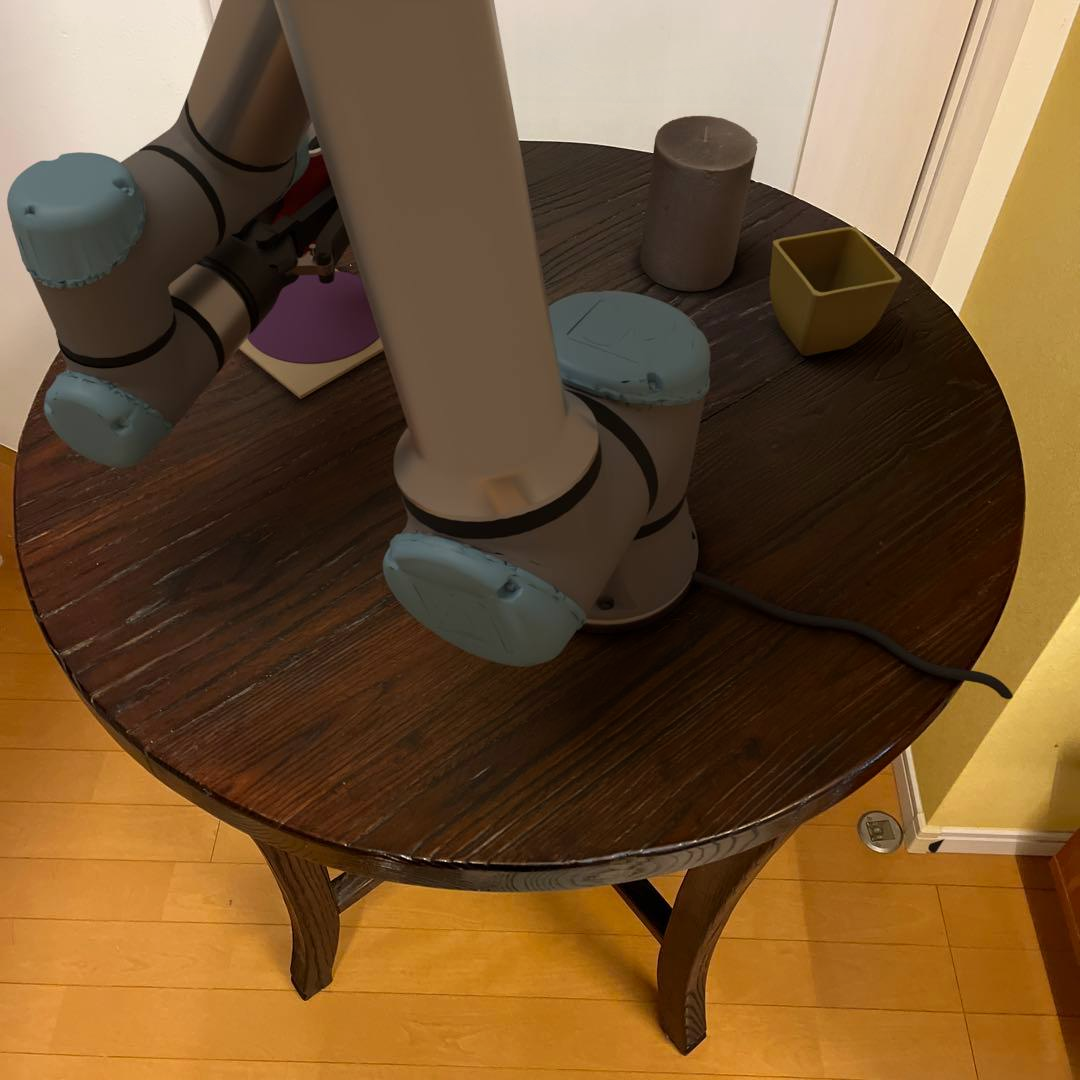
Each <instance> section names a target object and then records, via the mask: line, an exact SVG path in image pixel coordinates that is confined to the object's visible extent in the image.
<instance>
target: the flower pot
mask: <svg viewBox="0 0 1080 1080" xmlns="http://www.w3.org/2000/svg"><path fill="white" fill-rule="evenodd" d="M770 264H771V265H770V273H769V295H770V296H769V297H770V302H771V306H772V309H773V312H774V315H775V318H776V321H777V323H778V325H779V327H780V328H781V330H782V331H783V333H784V334H785V335H786V336H787V337H788V339H789V340H790V342H791V343H792V344H793V346H794V347H795V348H796V350H797V351H798V352H799V354H800V355H801V356H804V357H809V356H813V355H818V354H823V353H827V352H834V351H838V350H844V349H847V348H850V347H851V346H853V345H854V344H856V343H857V342H859V341H860V340H862V339H863V338H864V337H866V336H867V335H868V334H869V333H870V332H871V331H872V330H873V329H874V328H875V327H876V326H877V324H878V323H879V321H880V320H881V318H882V317H883V315H884V314H885V311H886V310H887V307H888V306H889V304H890V303H891V300H892V298H893V296H894V295H895V292H896V291H897V289H898V287H899V286H900V283H901V282H902V277H901V275H900V274H899V273H898V272H897V271H896V270H895V269H894V267H892V265H891V264H890V263H889V262H888V261H887V260H886V259H885V257H884V256H883V255H882V254H881V253H880V252H879V251H878V250H877V249H876V247H875V246H874V245H873V244H872V243H871V242H870V241H869V240H868V238H867V237H866V236H865V235H864V234H863V233H862V232H861V231H860V229H858V228H857V227H856V226H846V227H838V228H837V227H836V228H833V229H832V228H831V229H827V230H822V231H815V232H810V233H803V234H799V235H794V236H793V235H792V236H786V237H781V238H778V239H774V240H773V241H772V249H771V261H770Z"/></svg>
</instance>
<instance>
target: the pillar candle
mask: <svg viewBox="0 0 1080 1080" xmlns="http://www.w3.org/2000/svg"><path fill="white" fill-rule="evenodd" d="M758 143H759V142H758V139H757V138H756V136H754V135H752V134H751V132H749V131H748V130H747V129H746V128H745V127H743V126H742V125H740V124H738V123H736V122H733V121H731V120H728V119H726V118H723V117H716V116H711V115H689V116H682V117H678V118H675V119H672V120H670V121H667V122H666V123H664V124H663V125H662V126H661V127H659V129H658V130H657V132H656V135H655V137H654V145H653V153H652V158H651V159H652V161H651V169H650V170H651V171H650V178H649V186H648V193H647V200H646V208H645V215H644V223H643V230H642V237H641V238H642V239H641V246H640V256H639V261H640V262H639V263H640V267H641V269H642V270H643V272H644V273H645V274H646V275H647V277H648V278H649V279H651V281H653V282H654V283H656V284H658V285H661V286H663V287H665V288H668V289H671V290H675V291H681V292H704V291H709V290H711V289H715V288H718V287H720V286H721V285H722V284H723V283H724V282H725V281H726V280H727V279H728V278H729V277H730V276H731V274H732V272H733V270H734V264H735V261H736V256H737V250H738V247H739V240H740V236H741V231H742V227H743V226H742V225H743V221H744V215H745V210H746V206H747V202H748V201H747V200H748V196H749V195H748V194H749V191H750V185H751V180H752V174H753V171H754V165H755V158H756V155H757V151H758V145H757V144H758Z"/></svg>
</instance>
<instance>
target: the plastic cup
mask: <svg viewBox="0 0 1080 1080" xmlns="http://www.w3.org/2000/svg"><path fill="white" fill-rule="evenodd" d="M307 133H308V137H309V142H310V141H311V140H312V139H313V138H314V137H315V136H316V133H315V130H314V126H313V123H311V125H310V127H309V129H308V131H307ZM309 153H310V160H309V164H308V167H307V169H306V171H305V172H304V174H303V175H302V176H301V178H300V179H298V180H297V181H296V182H295V183H294V184H293V185H292V186H291V187H290V189H289V190H288V191H287V193H286V194H285V195H284V196H283V197H282V199H283V203H284V206H283V208H282V209H281V211H280V213H279V214H278V216H277V218H276V219H275V221H274V223H275V222H276V221H278V220H279V219H280V218H281V217H283V216H284V215H286V216H289V217H291V216H292V215H293V214H294V213H296V212H297V211H298V210H299V209H301V208H302V207H303V206H304V205H306V204H307V203H308V202H309V201H311V200H312V199H313V198H314V197H316V196H317V195H318V194H320V193H321V192H322V191H323V190H325V189H326V188H327V187H328V186H330V185H331V180H330V177H329V174H328V171H327V168H326V164H325V161H324V158H323V155H322V152H321V149H320V148H318V149H315V150H311V151H309ZM274 223H273V224H274ZM273 224H272V225H273ZM316 240H317V239H316ZM316 240H314V241H313V242H312V243H311V244H315V245H316ZM311 244H310V245H311ZM310 245H308V246H307V247H306V248H305V252H304V255H306V254H307V252H308V251H310V250H309V246H310Z"/></svg>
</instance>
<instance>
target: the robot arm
mask: <svg viewBox="0 0 1080 1080" xmlns="http://www.w3.org/2000/svg"><path fill="white" fill-rule="evenodd" d="M499 26H500V25H499V22H498V15H497V10H496V5H495V0H221V3H220V5H219V8H218V11H217V14H216V16H215V18H214V22H213V24H212V27H211V30H210V33H209V35H208V38H207V40H206V43H205V46H204V48H203V51H202V52H203V53H202V55H201V57H200V60H199V63H198V65H197V68H196V70H195V73H194V76H193V79H192V82H191V84H190V88H189V90H188V93H187V95H186V98H185V101H184V103H183V106H182V108H181V110H180V112H179V115H178V118H177V120H176V121H175V122H174V124H173V125H172V126H171V127H170V128H169V129H167V130H166V131H164V132H163V133H162V134H160V135H159V136H158V137H156V138H154V139H152V140H151V141H150V142H149V143H147V144H145V145H144V146H143V147H142V148H139V150H138V151H136V152H133V153H132V154H131V155H129V156H128V157H126V158H125V159H123V160H122V161H119V160H117V159H115V158H113V157H110V156H108V155H105V154H101V153H97V152H84V151H83V152H82V151H81V152H80V151H79V152H78V151H77V152H76V151H75V152H68V153H62V154H60V155H59V156H58V157H57V158H55V159H51V160H39V161H37V162H35V163H33V164H31V165H30V166H28V167H27V168H26V169H24V170H23V171H22V172H20V174H18V175H17V177H16V178H15V179H14V180H13V182H12V183H11V185H10V188H9V190H8V192H7V196H6V197H7V198H6V205H7V211H8V215H9V219H10V222H11V228H12V231H13V235H14V238H15V241H16V244H17V248H18V250H19V254H20V258H21V261H22V263H23V265H24V267H25V270H26V271H27V272H28V274H29V275H30V277H31V279H32V282H33V284H34V286H35V288H36V290H37V293H38V295H39V298H40V299H41V301H42V303H43V305H44V308H45V310H46V312H47V315H48V317H49V320H50V322H51V323H52V326H53V328H54V330H55V335H56V339H57V344H58V347H59V350H60V352H61V357H62V358H63V360H64V362H65V365H66V366H65V370H64V371H63V372H60V373H59V374H57V375H56V376H55V377H56V378H55V379H54V381H53V383H52V384H51V386H50V387H49V388H48V389H47V391H46V393H45V395H44V396H45V397H44V405H43V411H44V415H45V418H46V420H47V423H48V424H49V427H51V429H52V430H53V431H54V433H55V434H56V436H58V437H59V439H60V440H61V441H62V442H63V443H64V444H66V445H67V447H68V448H70V449H71V450H73V451H74V452H75V453H77V454H78V455H79V456H81V457H83V458H85V459H87V460H88V461H91V462H93V463H95V464H100V465H103V466H106V467H108V468H113V469H127V468H131V467H134V466H136V465H138V464H140V463H141V462H142V461H144V460H145V459H146V458H147V457H148V456H149V455H150V454H151V452H153V450H155V448H157V446H159V445H160V443H161V442H162V441H163V440H165V439H166V438H168V437H170V436H171V435H172V433H173V432H174V429H175V427H176V426H177V425H178V424H179V422H180V421H181V420H182V418H183V417H184V416H185V415H186V414H187V412H188V411H190V409H191V407H192V406H193V405H194V404H195V403H196V401H197V400H198V399H199V397H200V396H201V395H202V394H203V392H204V391H205V390H206V389H207V388H208V386H210V384H211V383H212V381H213V380H214V379H215V378H216V376H217V375H218V373H219V372H220V371H222V369H223V368H224V367H225V366H226V365H227V363H229V361H230V360H231V359H232V357H233V356H234V355H235V354H236V353H237V351H238V350H239V348H240V346H241V345H242V344H243V343H244V342H245V340H246V339H247V337H248V335H250V334H251V333H252V332H253V331H254V330H255V329H256V328H257V327H258V325H259V324H260V323H261V322H262V321H263V319H264V318H265V317H266V316H267V315H268V313H269V312H270V311H271V310H272V309H273V307H274V305H275V303H276V301H277V299H278V297H279V294H280V292H281V290H282V289H283V288H284V287H286V286H288V285H290V284H292V283H294V282H295V281H296V280H297V279H298V278H299V275H318V277H319V281H320V282H321V283H324V284H328V283H331V282H333V281H334V275H335V269H336V266H337V264H338V262H339V261H340V259H341V258H342V256H343V255H344V253H345V252H346V250H348V247H349V246H350V247H351V250H352V253H353V256H354V259H355V263H356V266H357V269H358V272H359V275H360V276H359V277H361V279H362V282H363V285H364V288H365V291H366V295H367V298H368V301H369V304H370V307H371V311H372V314H373V317H374V320H375V323H376V326H377V330H378V333H379V336H380V339H381V342H382V345H383V349H384V351H383V352H384V354H385V355H384V356H385V358H386V361H387V364H388V367H389V368H388V369H389V371H390V373H391V377H392V380H393V383H394V387H395V390H396V393H397V396H398V399H399V403H400V405H401V409H402V412H403V415H404V419H405V421H406V425H407V427H406V428H405V430H404V431H403V433H402V435H401V436H400V437H399V440H398V442H397V445H396V447H395V450H394V453H393V463H392V464H393V465H392V466H393V474H394V477H395V481H396V484H397V486H398V489H399V492H400V496H401V500H402V503H403V505H404V508H405V511H406V514H407V522H406V525H405V528H404V529H403V530H402V532H401V533H397V534H395V535H394V537H393V538H392V539H391V540H390V541H389V547H388V549H387V551H386V552H385V555H384V557H383V561H382V572H383V576H384V579H385V581H386V584H387V587H389V590H390V591H391V593H392V594H393V596H394V597H395V598H396V600H397V601H398V602H399V603H400V605H401V606H402V607H403V608H404V609H405V611H406V612H408V613H409V615H411V616H412V617H413V618H414V619H415V620H416V621H418V622H419V623H420V624H421V625H422V626H424V627H425V628H426V629H428V630H429V631H430V632H432V633H434V634H435V635H436V636H437V637H439V638H441V639H443V640H444V641H445V642H447V643H449V644H450V645H453V646H454V647H457V648H458V649H460V650H462V651H464V652H466V653H468V654H470V655H473V656H475V657H478V658H480V659H483V660H486V661H489V662H492V663H497V664H500V665H503V666H511V667H523V668H524V667H534V666H538V665H540V664H544V663H547V662H550V661H552V660H553V659H555V658H556V657H558V656H559V654H561V653H562V652H563V650H564V649H565V648H566V646H567V644H568V643H569V642H570V640H571V639H572V637H573V636H574V634H576V632H577V631H579V632H585V633H592V634H617V633H624V632H630V631H635V630H638V629H641V628H644V627H647V626H649V625H652V624H653V623H655V622H657V621H660V620H661V619H663V618H664V617H666V616H667V615H668V614H670V613H672V612H673V611H674V609H675V608H677V606H678V605H680V603H681V602H682V601H683V600H684V598H685V597H686V595H687V594H688V592H689V591H690V588H691V586H692V583H693V582H695V583H697V584H698V585H699V584H700V585H702V586H704V587H707V588H709V589H712V590H713V591H716V592H719V593H722V594H724V595H727V596H729V597H731V598H734V599H736V600H738V601H741V602H743V603H745V604H747V605H749V606H751V607H754V608H756V609H758V610H760V611H762V612H764V613H766V614H769V615H771V616H773V617H776V618H779V619H781V620H784V621H788V622H790V623H793V624H799V625H803V626H810V627H819V628H831V629H838V630H843V631H848V632H852V633H854V634H858V635H861V636H863V637H865V638H868V639H870V640H871V641H873V642H875V643H877V644H879V645H880V646H881V647H883V648H884V649H886V650H887V651H889V652H890V653H891V654H893V655H894V656H896V657H897V658H899V659H900V660H901V661H903V662H904V663H906V664H908V665H910V666H911V667H913V668H915V669H917V670H919V671H921V672H923V673H927V674H928V675H932V676H936V677H939V678H943V679H944V678H945V679H950V680H955V681H957V680H958V681H965V682H970V683H971V682H972V683H976V684H980V685H984V686H986V687H989V688H991V689H992V690H994V691H995V692H996V693H997V694H998V695H999V696H1000V697H1001V698H1003V699H1005V700H1011V699H1013V697H1014V696H1013V695H1014V694H1013V692H1012V691H1011V690H1010V689H1009V688H1008V686H1006V684H1005V683H1004V682H1002V681H1001V680H1000V679H998V678H997V677H995V676H993V675H991V674H988V673H985V672H981V671H977V670H970V669H963V668H957V667H956V668H955V667H948V666H945V665H939V664H936V663H932V662H930V661H929V660H928V661H927V660H925V659H923V658H921V657H920V656H917V655H915V654H914V653H912V652H911V651H909V650H908V649H906V648H904V647H903V646H902V645H900V644H899V643H898V642H896V641H894V639H892V638H890V637H889V636H887V635H886V634H884V633H883V632H881V631H879V630H877V629H875V628H873V627H871V626H869V625H867V624H864V623H862V622H859V621H856V620H855V621H854V620H851V619H846V618H840V617H834V616H824V615H823V616H821V615H814V614H813V615H812V614H806V613H800V612H797V611H794V610H789V609H787V608H784V607H781V606H779V605H776V604H774V603H772V602H770V601H768V600H765V599H763V598H762V597H759V596H757V595H754V594H752V593H750V592H748V591H746V590H743V589H741V588H739V587H736V586H734V585H731V584H729V583H726V582H725V581H721V580H720V579H717V578H715V577H712V576H710V575H707V574H705V573H702V572H700V571H697V570H696V569H697V563H698V558H699V541H698V536H697V530H696V527H695V525H694V521H693V519H692V516H691V514H690V513H689V511H690V507H689V502H688V498H687V490H688V485H689V481H690V476H691V471H692V465H693V462H694V461H693V460H694V456H695V450H696V445H697V441H698V437H699V436H698V435H699V429H700V424H701V420H702V415H703V410H704V405H705V400H706V395H707V394H708V393H709V390H710V384H711V378H710V367H711V349H710V345H709V342H708V340H707V337H706V336H705V334H704V333H703V331H702V330H700V329H699V328H698V325H697V324H696V323H695V322H694V320H693V319H692V318H691V317H689V316H688V315H687V314H686V313H684V312H683V311H681V310H680V309H678V308H676V307H675V306H673V305H671V304H669V303H666V302H664V301H662V300H659V299H657V298H654V297H651V296H647V295H644V294H639V293H636V292H635V293H634V292H629V291H621V290H602V291H584V292H579V293H575V294H570V295H569V296H565V297H562V298H560V299H559V300H557V301H555V302H553V303H552V304H550V305H549V301H548V296H547V295H548V294H547V289H546V283H545V278H544V273H543V267H542V261H541V256H540V251H539V244H538V239H537V233H536V229H535V223H534V217H533V216H534V215H533V211H532V207H531V205H532V204H531V200H530V196H529V189H528V183H527V177H526V173H525V166H524V162H523V156H522V150H521V145H520V138H519V134H518V127H517V123H516V116H515V110H514V105H513V100H512V95H511V94H512V93H511V89H510V83H509V79H508V78H509V77H508V72H507V71H508V70H507V66H506V59H505V55H504V49H503V44H502V38H501V31H500V27H499ZM311 123H313V126H314V130H315V133H316V136H315V137H314V138H313V139H312V140H311V141H310V142H309V137H308V133H307V131H308V129H309V127H310V125H311ZM318 148H320V149H321V152H322V155H323V158H324V161H325V164H326V168H327V171H328V174H329V177H330V180H331V185H330V186H328V187H327V188H326V189H325V190H323V191H322V192H321V193H320V194H318V195H317V196H316V197H314V198H313V199H312V200H311V201H309V202H308V203H307V204H306V205H304V206H303V207H302V208H301V209H299V210H298V211H297V212H296V213H294V214H293V215H292V216H291V217H289V216H286V215H284V216H283V217H281V218H280V219H279V220H278V221H276V222H275V223H274V221H275V219H276V218H277V216H278V214H279V213H280V211H281V209H282V208H283V206H284V203H283V199H282V197H283V196H284V195H285V194H286V193H287V191H288V190H289V189H290V187H291V186H292V185H293V184H294V183H295V182H296V181H297V180H298V179H300V178H301V176H302V175H303V174H304V172H305V171H306V169H307V167H308V164H309V160H310V153H309V151H311V150H315V149H318ZM273 223H274V224H273ZM272 224H273V225H272ZM316 239H317V240H316ZM314 240H316V245H315V244H311V243H312V242H313V241H314ZM310 244H311V245H310ZM308 245H310V246H309V250H310V251H308V252H307V254H304V252H305V248H306V247H307V246H308ZM944 841H945V838H943V839H939V840H936V841H934V842H931V843H929V845H928V847H927V848H928V851H929V852H930V853H932V854H935V853H936V852H938V850H939V849H940V847H941V845H942V844H943V843H944Z"/></svg>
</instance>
